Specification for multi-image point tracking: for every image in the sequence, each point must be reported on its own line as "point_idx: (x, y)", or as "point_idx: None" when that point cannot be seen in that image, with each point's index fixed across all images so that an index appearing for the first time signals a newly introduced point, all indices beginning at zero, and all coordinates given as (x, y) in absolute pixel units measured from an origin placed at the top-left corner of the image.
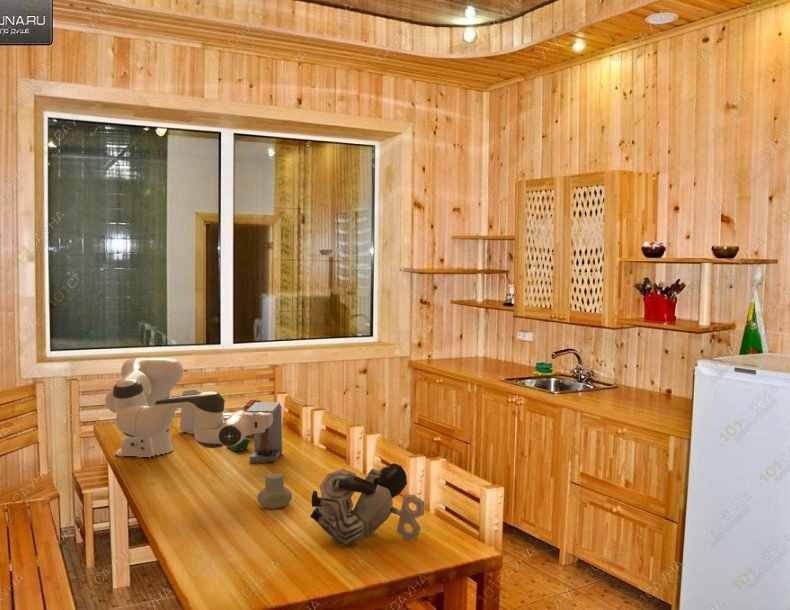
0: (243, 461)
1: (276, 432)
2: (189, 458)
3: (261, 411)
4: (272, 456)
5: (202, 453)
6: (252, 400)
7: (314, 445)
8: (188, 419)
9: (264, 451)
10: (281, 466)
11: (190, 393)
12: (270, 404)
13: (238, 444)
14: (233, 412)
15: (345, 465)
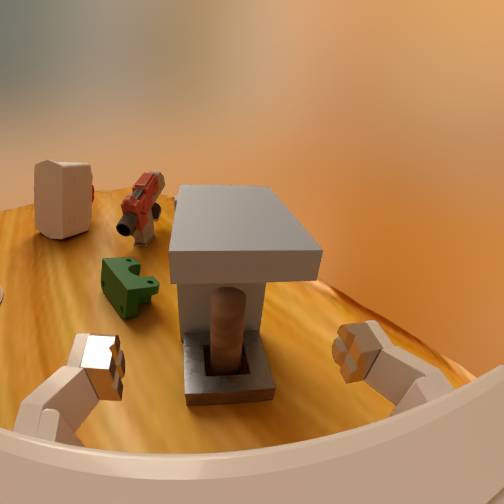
0: (161, 389)
1: (251, 284)
2: (19, 350)
3: (262, 253)
4: (265, 386)
5: (49, 321)
6: (148, 174)
7: (301, 281)
8: (43, 212)
9: (230, 364)
10: (309, 425)
11: (43, 167)
12: (249, 196)
13: (130, 303)
14: (75, 350)
15: (451, 376)
